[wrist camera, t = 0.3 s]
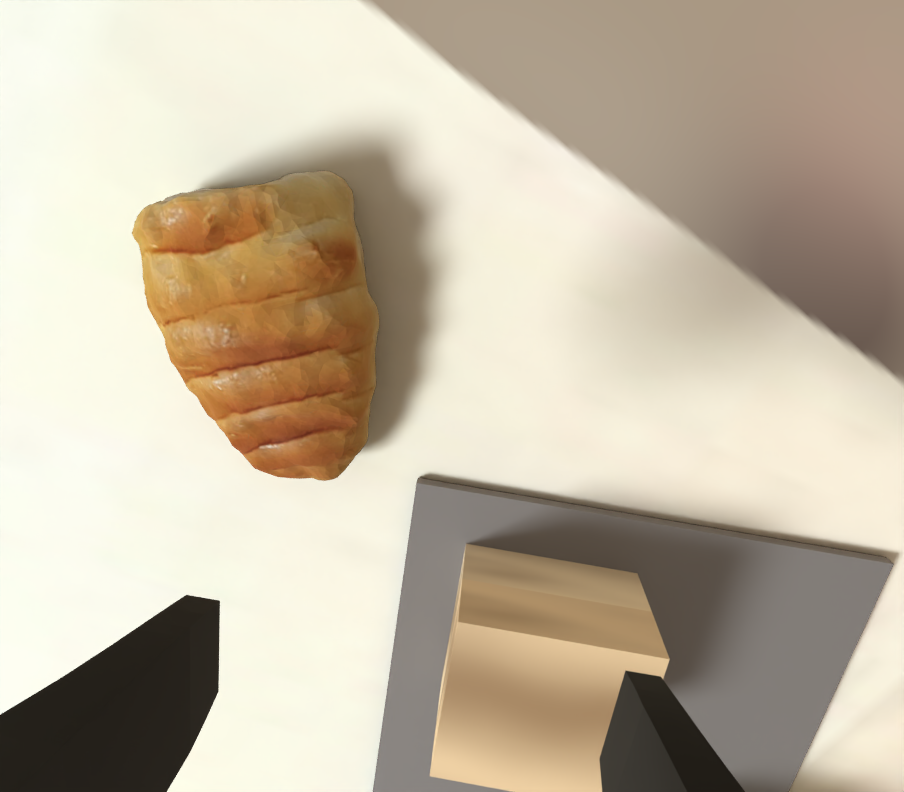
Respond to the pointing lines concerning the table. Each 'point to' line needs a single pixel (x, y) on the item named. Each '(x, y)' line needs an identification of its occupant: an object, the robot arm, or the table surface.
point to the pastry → (268, 316)
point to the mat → (674, 609)
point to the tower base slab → (549, 579)
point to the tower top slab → (536, 687)
